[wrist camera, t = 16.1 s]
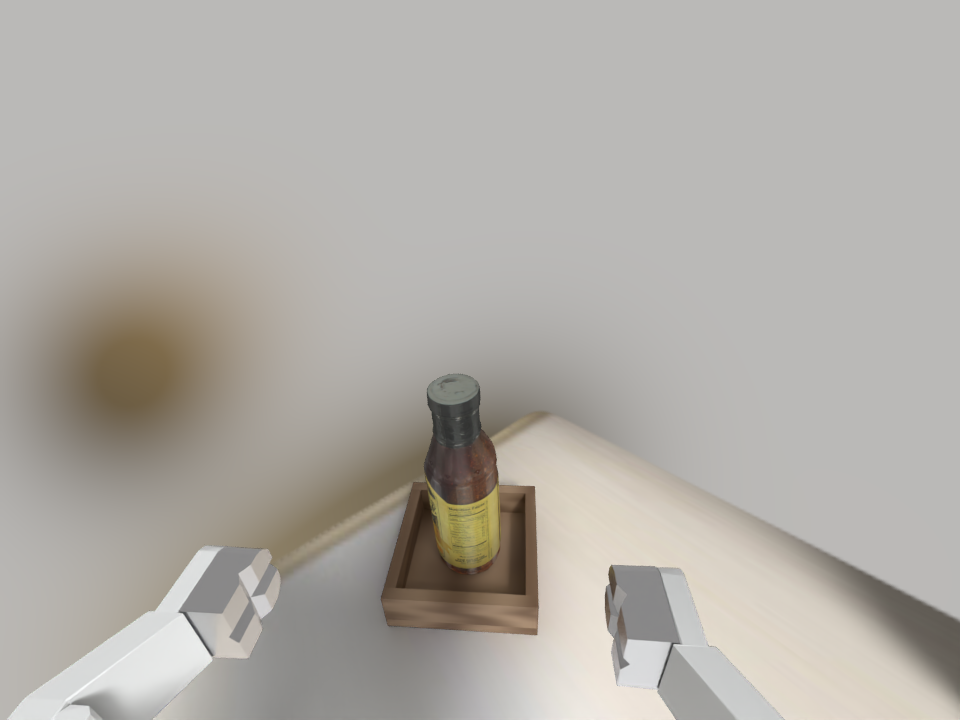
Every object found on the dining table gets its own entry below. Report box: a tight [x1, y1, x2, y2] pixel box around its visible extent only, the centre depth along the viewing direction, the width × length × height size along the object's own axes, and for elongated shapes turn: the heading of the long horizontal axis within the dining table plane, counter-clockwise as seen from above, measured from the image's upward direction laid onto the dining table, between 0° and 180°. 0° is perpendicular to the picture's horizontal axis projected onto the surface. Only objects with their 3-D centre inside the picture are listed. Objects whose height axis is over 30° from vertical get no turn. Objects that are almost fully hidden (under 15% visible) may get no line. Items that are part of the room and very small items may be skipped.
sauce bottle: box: [424, 374, 501, 575], centre depth 39 cm, size 6×6×20 cm
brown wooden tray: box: [381, 482, 538, 635], centre depth 43 cm, size 13×13×4 cm
